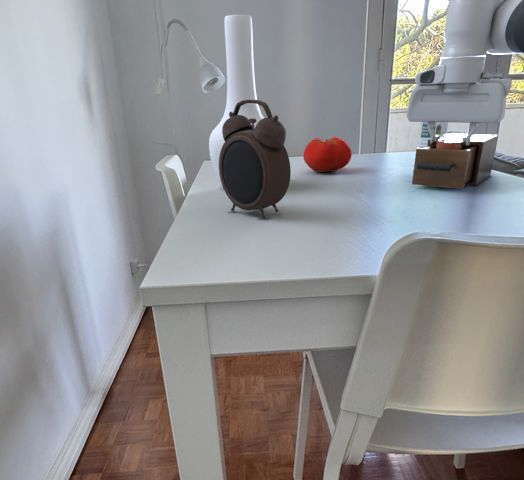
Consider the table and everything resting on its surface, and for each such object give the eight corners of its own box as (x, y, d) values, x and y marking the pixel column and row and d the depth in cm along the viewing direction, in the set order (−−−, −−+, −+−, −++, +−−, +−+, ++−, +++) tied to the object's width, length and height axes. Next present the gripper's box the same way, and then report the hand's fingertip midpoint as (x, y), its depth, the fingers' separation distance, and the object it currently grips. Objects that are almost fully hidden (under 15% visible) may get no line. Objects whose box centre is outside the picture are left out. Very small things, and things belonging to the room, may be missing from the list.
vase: (210, 195, 110) (194, 12, 92) (214, 182, 124) (202, 21, 107) (281, 192, 110) (279, 9, 93) (277, 179, 124) (275, 19, 107)
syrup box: (415, 165, 138) (422, 110, 130) (423, 163, 142) (430, 109, 134) (434, 167, 134) (442, 110, 127) (442, 164, 138) (450, 109, 131)
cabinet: (475, 185, 110) (483, 141, 106) (422, 181, 117) (428, 139, 112) (490, 176, 121) (498, 135, 116) (440, 172, 127) (446, 133, 122)
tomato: (293, 174, 131) (293, 139, 127) (311, 167, 141) (311, 135, 136) (340, 177, 126) (342, 141, 121) (355, 169, 135) (357, 136, 131)
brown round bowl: (464, 151, 107) (466, 140, 106) (457, 154, 103) (459, 142, 102) (439, 150, 110) (441, 139, 109) (431, 153, 106) (433, 141, 105)
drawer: (456, 192, 100) (462, 153, 96) (404, 188, 106) (408, 151, 102) (478, 178, 113) (484, 143, 109) (430, 175, 119) (435, 141, 115)
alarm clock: (216, 211, 96) (207, 100, 86) (242, 205, 100) (236, 98, 90) (268, 223, 87) (265, 100, 77) (294, 215, 91) (294, 98, 81)
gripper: (517, 71, 96) (501, 145, 103) (418, 75, 107) (410, 141, 113) (510, 71, 92) (495, 148, 98) (408, 75, 102) (401, 144, 109)
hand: (449, 144), depth 106 cm, fingers closed on brown round bowl, 5 cm apart
